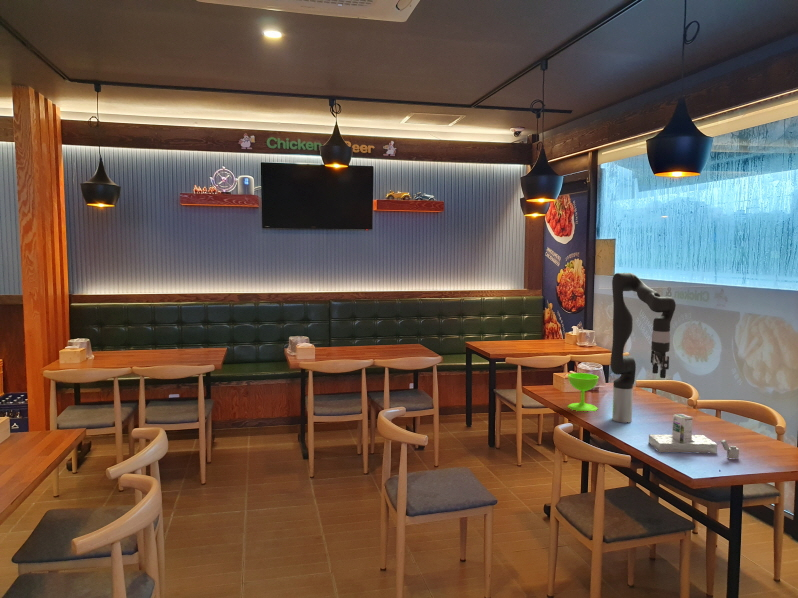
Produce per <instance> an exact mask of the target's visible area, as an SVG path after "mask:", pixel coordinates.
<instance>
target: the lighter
mask: <svg viewBox="0 0 798 598" xmlns="http://www.w3.org/2000/svg"><path fill="white" fill-rule="evenodd" d="M720 442H721V445H722V448H723V449H724V450H725V451H726V458H727V457H728V458H739V457H740V448H738V447H737V446H736V445H730V447H729V445H728V442H727V440H726V439H722V440H720ZM728 458H727V459H728ZM739 459H740V458H739Z"/></svg>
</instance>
